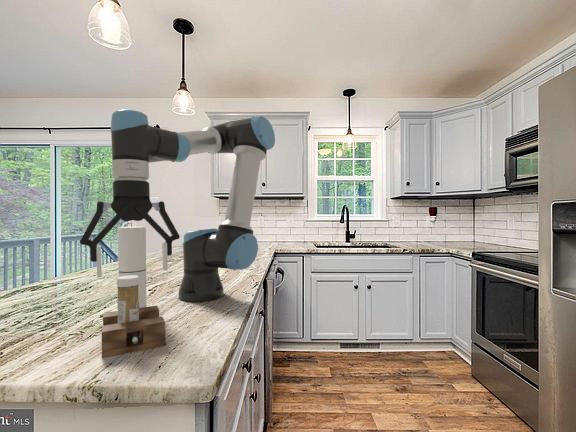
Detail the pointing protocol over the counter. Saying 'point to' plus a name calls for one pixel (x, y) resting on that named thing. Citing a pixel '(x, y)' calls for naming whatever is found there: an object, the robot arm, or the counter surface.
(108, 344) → the socket
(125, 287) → the sprinkles bottle
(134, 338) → the plunger
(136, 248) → the cylindrical container
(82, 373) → the counter surface
